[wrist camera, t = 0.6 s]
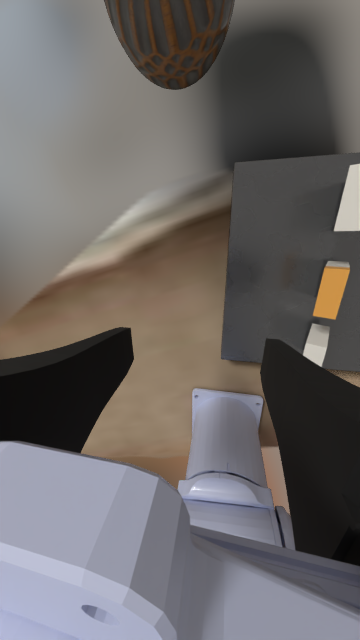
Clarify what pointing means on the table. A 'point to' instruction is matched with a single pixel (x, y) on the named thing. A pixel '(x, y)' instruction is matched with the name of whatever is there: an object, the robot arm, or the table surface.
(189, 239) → the table surface
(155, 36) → the vase
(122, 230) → the table surface
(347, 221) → the white block
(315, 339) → the small grey block
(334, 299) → the orange-white breaker switch
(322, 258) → the panel
